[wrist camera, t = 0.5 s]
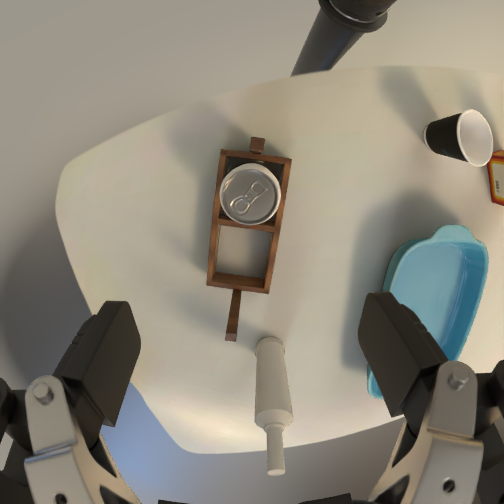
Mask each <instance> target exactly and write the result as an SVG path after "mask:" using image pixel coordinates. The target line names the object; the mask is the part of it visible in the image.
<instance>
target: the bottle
mask: <svg viewBox="0 0 504 504" xmlns="http://www.w3.org/2000/svg"><path fill="white" fill-rule="evenodd" d="M255 355H256V357H257V369H256V397H255V423H256V425H257V426H259V427H261V428H263V429H264V431H265V432H266V433H267V473H268V474H269V475H281V474H284V473H285V463H284V454H283V438H282V432H283V431H284V428H285V427H287V426H288V425H289V424H290V423H291V422H292V420H293V413H292V406H291V399H290V392H289V386H288V379H287V372H286V366H285V359H284V355H285V349H284V346H283V343H282V342H281V341H280V340H279V339H277V338H275V337H266V338H263V339H261V340H260V341H259V342H258V344H257V345H256V352H255Z"/></svg>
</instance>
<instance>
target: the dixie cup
mask: <svg viewBox="0 0 504 504" xmlns="http://www.w3.org/2000/svg"><path fill="white" fill-rule="evenodd" d="M424 141H425V144H426V146H427V147H428V148H429V149H430V150H431V151H433V152H435V153H437V154H440V155H444V156H448V157H452V158H455V159H459V160H462V161H466V162H469V163H471V164H472V165H474V166H477V167H481V166H484V165H486V164H487V163H488V162H489V160H490V158H491V156H492V152H493V136H492V132H491V129H490V126H489V124H488V122H487V120H486V119H485V117H484V116H483V115H482V114H481V113H480V112H478V111H476V110H474V109H467V110H465V111H463V112H462V113H460V114H456V115H453V116H450V117H447V118H443V119H440V120H437V121H434V122H431V123H430V124H429V125H427V126H426V128H425V130H424Z"/></svg>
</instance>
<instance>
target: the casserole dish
mask: <svg viewBox="0 0 504 504" xmlns="http://www.w3.org/2000/svg"><path fill="white" fill-rule="evenodd" d="M488 263H489V258H488V252H487V249H486V247H485V245H484V244H483V243H482V242H480V241H478V240H476V239H475V238H474V237H473V235H472V234H471V232H470V230H469V229H468V228H467V227H465V226H462V225H443V226H441V227H439V228H438V229H437V230H436V231H435V232H434V233H433V235H432V236H431V237H430V238H418V239H413V240H410V241H407V242H406V243H404V244H403V245H401V246H400V247H399V248H398V249H397V251H396V252H395V253H394V255H393V257H392V259H391V261H390V264H389V266H388V269H387V273H386V277H385V281H384V286H383V291H382V292H384V291H390V292H391V293H392V294H393V295H394V297H395V298H396V299H397V301H398V302H399V303H400V304H404V305H405V306H407V307H408V308H410V309H411V310H412V311H414V312H415V314H416V315H417V316H418V317H419V319H420V320H421V321H422V322H421V323H422V324H424V325H425V327H426V328H427V331H428V332H430V334H431V335H432V336H433V338H434V339H435V341H436V342H437V343H438V345H439V346H440V348H441V349H442V350H443V352H444V353H445V355H446V356H447V358H448V359H449V361H457V360H458V358H459V356H460V354H461V351H462V349H463V347H464V345H465V342H466V340H467V337H468V335H469V332H470V329H471V327H472V324H473V321H474V318H475V316H476V313H477V310H478V307H479V303H480V300H481V297H482V294H483V290H484V286H485V282H486V278H487V272H488ZM367 379H368V384H367V386H368V392H369V394H370V396H372V397H373V398H377V399H384V398H383V396H382V394H381V391H380V389H379V387H378V384H377V382H376V380H375V377H374V375H373V373H372V371H371V368H370V366H369V364H368V367H367Z"/></svg>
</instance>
